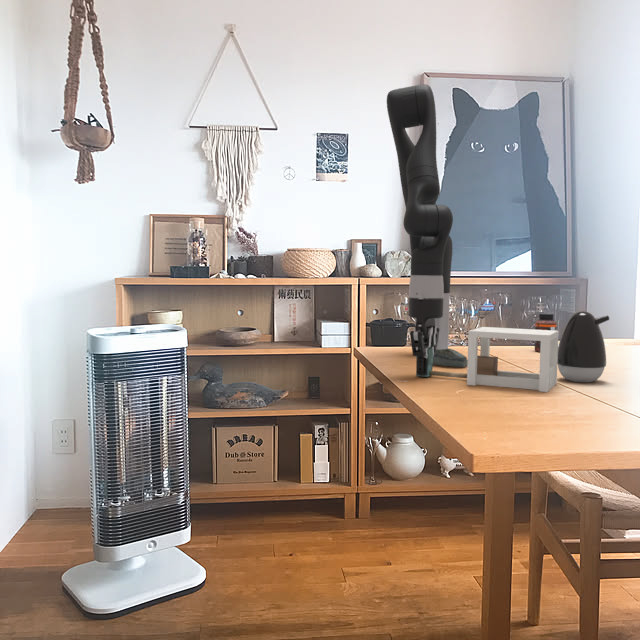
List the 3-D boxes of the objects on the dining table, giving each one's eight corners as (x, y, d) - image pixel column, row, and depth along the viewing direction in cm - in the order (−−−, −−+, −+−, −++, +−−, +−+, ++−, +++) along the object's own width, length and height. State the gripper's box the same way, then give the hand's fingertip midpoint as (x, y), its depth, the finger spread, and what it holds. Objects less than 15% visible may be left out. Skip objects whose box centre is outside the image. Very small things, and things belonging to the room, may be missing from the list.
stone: (430, 366, 180) (418, 359, 172) (434, 351, 181) (422, 343, 172) (470, 373, 175) (460, 366, 166) (474, 358, 176) (463, 350, 167)
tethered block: (421, 373, 158) (422, 347, 157) (497, 380, 150) (498, 352, 150) (414, 376, 153) (415, 349, 153) (491, 383, 146) (492, 354, 145)
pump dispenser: (607, 386, 146) (610, 313, 145) (554, 382, 149) (557, 311, 148) (605, 378, 155) (608, 310, 154) (556, 375, 159) (558, 309, 158)
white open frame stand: (481, 377, 155) (483, 326, 154) (556, 383, 148) (558, 330, 147) (466, 384, 145) (468, 330, 144) (547, 392, 137) (549, 335, 136)
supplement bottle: (558, 353, 203) (560, 314, 202) (537, 352, 203) (539, 313, 202) (551, 350, 209) (553, 312, 208) (531, 350, 209) (533, 312, 208)
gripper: (420, 294, 162) (418, 369, 163) (398, 296, 149) (397, 376, 150) (451, 295, 158) (449, 371, 160) (432, 297, 146) (430, 379, 147)
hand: (424, 373), depth 155 cm, fingers closed on tethered block, 3 cm apart
